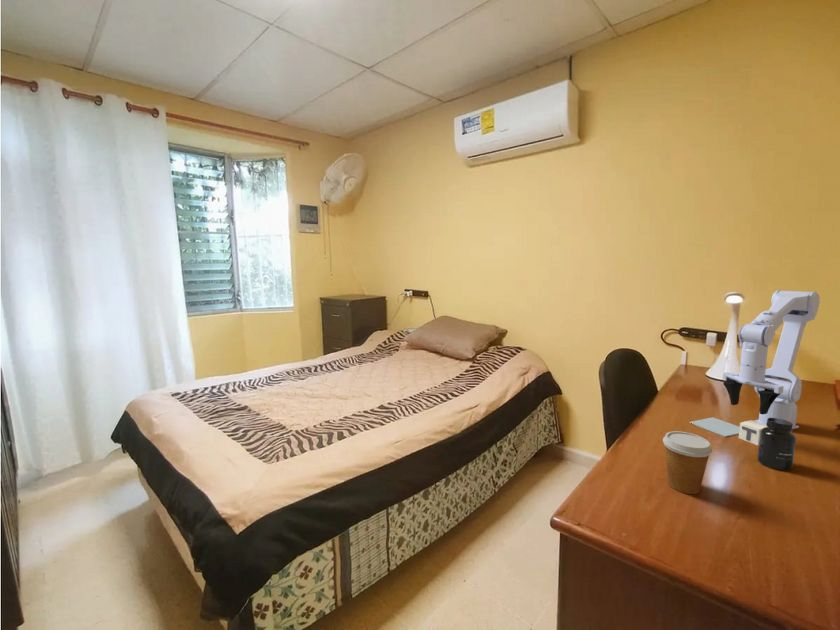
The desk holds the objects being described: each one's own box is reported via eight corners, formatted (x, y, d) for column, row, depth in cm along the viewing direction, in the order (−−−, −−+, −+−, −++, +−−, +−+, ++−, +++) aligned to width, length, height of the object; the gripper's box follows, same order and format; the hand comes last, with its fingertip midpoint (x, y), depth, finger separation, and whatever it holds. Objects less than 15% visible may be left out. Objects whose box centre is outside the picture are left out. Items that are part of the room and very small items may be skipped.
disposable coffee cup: (710, 503, 83) (715, 453, 82) (660, 490, 88) (663, 442, 87) (705, 482, 91) (710, 435, 90) (659, 471, 96) (662, 427, 95)
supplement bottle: (785, 474, 94) (791, 428, 92) (752, 461, 100) (756, 419, 98) (797, 467, 97) (802, 423, 96) (764, 455, 103) (768, 413, 102)
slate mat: (712, 418, 128) (712, 417, 128) (749, 431, 118) (749, 430, 118) (689, 422, 125) (689, 422, 125) (725, 437, 114) (725, 436, 114)
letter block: (749, 435, 115) (751, 420, 114) (768, 442, 110) (770, 426, 110) (738, 438, 113) (739, 422, 113) (757, 445, 109) (759, 429, 108)
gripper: (717, 360, 116) (713, 402, 117) (773, 372, 102) (768, 420, 104) (733, 358, 118) (729, 399, 120) (790, 370, 104) (784, 416, 106)
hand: (748, 408), depth 112 cm, fingers open, 7 cm apart
